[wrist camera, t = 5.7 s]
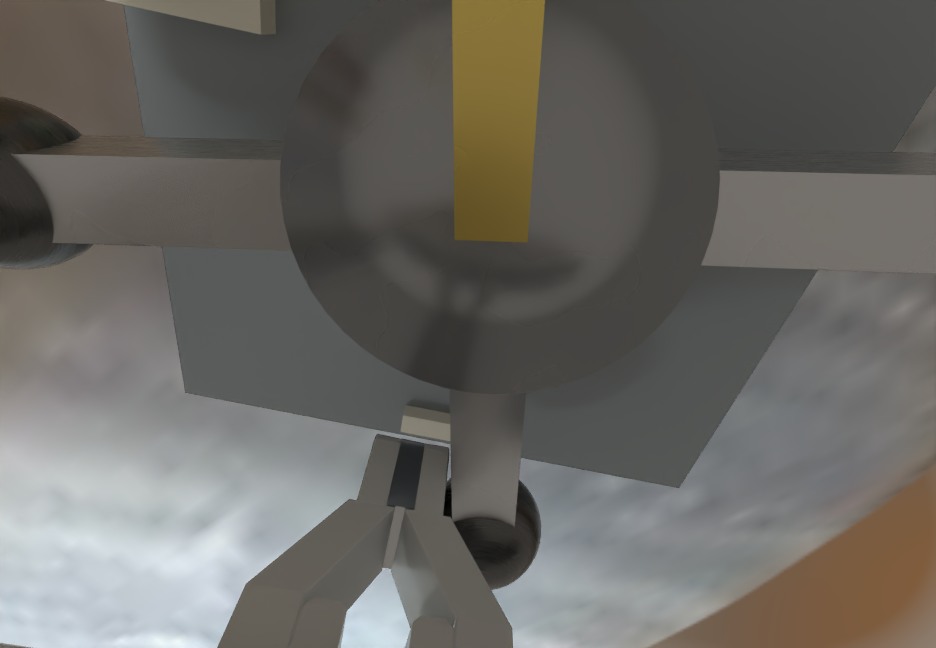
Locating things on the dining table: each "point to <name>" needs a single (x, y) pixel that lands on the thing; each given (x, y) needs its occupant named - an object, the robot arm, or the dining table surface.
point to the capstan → (479, 209)
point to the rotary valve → (599, 394)
